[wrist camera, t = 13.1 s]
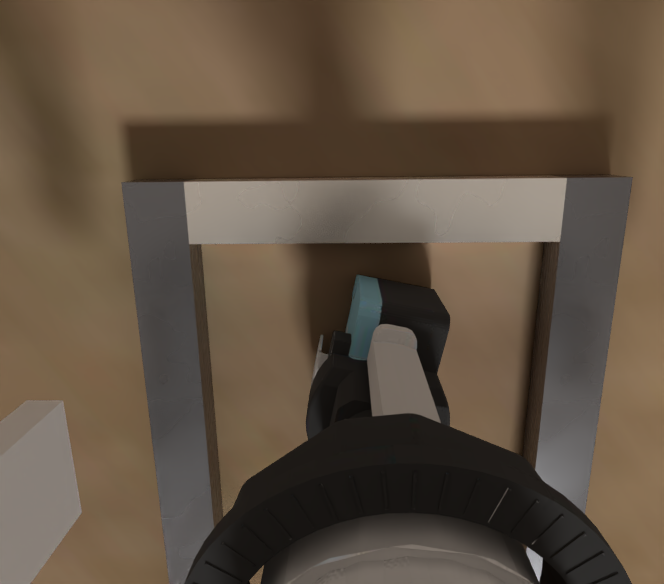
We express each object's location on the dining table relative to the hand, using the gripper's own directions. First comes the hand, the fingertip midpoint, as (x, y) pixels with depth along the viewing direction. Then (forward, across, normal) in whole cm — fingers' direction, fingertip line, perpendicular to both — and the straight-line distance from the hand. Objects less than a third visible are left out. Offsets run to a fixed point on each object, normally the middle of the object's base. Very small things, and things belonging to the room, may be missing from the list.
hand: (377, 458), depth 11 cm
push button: (+4, 0, 0) cm, 4 cm away
